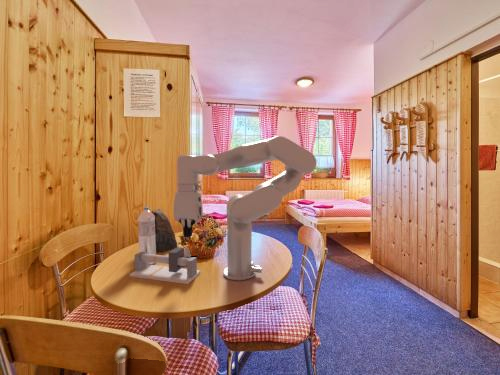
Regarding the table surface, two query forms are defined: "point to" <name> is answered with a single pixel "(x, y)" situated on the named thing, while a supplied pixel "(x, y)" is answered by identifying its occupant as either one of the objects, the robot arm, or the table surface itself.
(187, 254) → the skincare box
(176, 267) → the collar
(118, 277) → the table surface
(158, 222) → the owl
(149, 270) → the slider rail stand
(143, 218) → the water bottle
